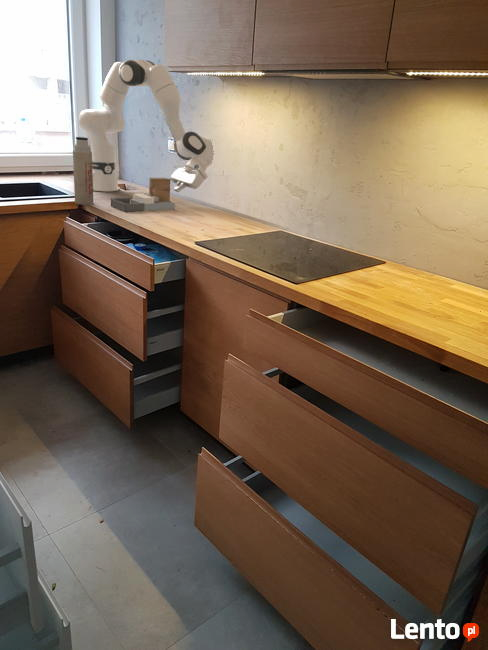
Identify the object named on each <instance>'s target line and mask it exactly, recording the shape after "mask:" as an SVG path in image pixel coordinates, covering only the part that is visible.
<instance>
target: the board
mask: <svg viewBox="0 0 488 650" xmlns="http://www.w3.org/2000/svg"><path fill="white" fill-rule="evenodd" d="M132 203H141V202H139V201H136V200H133V198H130V204H132ZM175 204H176V203H175V202H173V201H171V200H170V201H169V202H159V203H158V204H157V203H150V204H144V211H143V212H147V211H146V210H152V211H167V210H168V211H169V210H171V211H172V210H175V208H176V207H175V206H176V205H175Z"/></svg>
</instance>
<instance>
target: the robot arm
mask: <svg viewBox="0 0 488 650" xmlns="http://www.w3.org/2000/svg"><path fill="white" fill-rule="evenodd" d="M166 70H167V68H166V67H165V66H164V65H162V64H155V63H154V62H152V61H150V60H144V59H129V60H125V61H123V62H121V61H117V62H114V63H113V65H112V67H111V68H110V70H109V72H108V74H107V76H106V77H105V80H104V82H103V85H102V88H101V91H100V93H99V96H100V100H101V102H102V103H103V105H102V106H103V107H102V108H101V109H100V108H99V109H98V108H97V109H96V108H89V109H84V110H82V111H80V113H79V116H78V124H79V126H80V128H81V129H82V130H83V131H84V133H85V134H86V136H87V138H88V141H89V144H90V148H91V149H90V151H91V152H92V168H93V191H94V192H95V191H96V192H116V191H119V190H121V187H120V186H119V184H118V182H119V181H118V173H117V172H116V170H115V169H116V163H115V152H114V150H115V148H114V146H113V144H112V143H111V142H109V140H108V137H107V134H116V133H119V132H120V133H121V131H123V129H124V128H125V119H124V117H123V115H122V108H123V104H124V102H125V99H126V97H127V93H128V92H129V89H130V87H144V86H145V87H146V86H148V87H149V88H150V90H151V92H152V94H153V96H154V98H155V100H156V102H157V104H158V107H159V109H160V110H161V112H162V115H163V116H164V119H165V121H166V123H167V126H168V129H169V130H170V133H171V135H172V137H173V140H174V143H175V144H174V145H175V152H176V153H175V154H177V157H179V158H180V159H182V160H183V161H187V162H186V163H185V165H184V166H182V167H178V168H177V169H176V170H174V172H172V174H170V176H169V179H170V182H172V183H174V184H175V186H174V187H173V190H174V192H177V193H179V192H181V191H182V190H184V189H185V188H186V187H187V188H191V189H194V190H196V189H198V188H200V186H201V185H202V184H203V182H204V181H205V180H206V179H207V178H208V176H209V175H208V174H207V173H206V171H207V168H208V167H210V166H211V165H212V164H213V162H212V160H213V155H214V153H213V152H214V151H213V145H212V142H211V140H212V139H210V140H209V139H207V138H204V137H203V136H200V135H199V134H198V133H196V132H195V131H187V132H186V131H185V128H184V125H183V124H182V121H181V118H180V108H181V107H180V106H181V96H180V92H179V90H178V88H177V85H176V83H175V81H174V79H173V78H172V76H171V74H170V73H169V71H168V70H167V71H168V72H167V71H166Z"/></svg>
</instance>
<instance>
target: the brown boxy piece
mask: <svg viewBox="0 0 488 650" xmlns="http://www.w3.org/2000/svg"><path fill="white" fill-rule="evenodd" d="M148 186H149V189H148V190H149V192H148V193H146V192H145V193H143V194H145V195H148V196H151V197H154V203H157V204H158V203H159V202H169V201H171V179H170V178H168V177H167V178H166V177H149V185H148Z"/></svg>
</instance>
